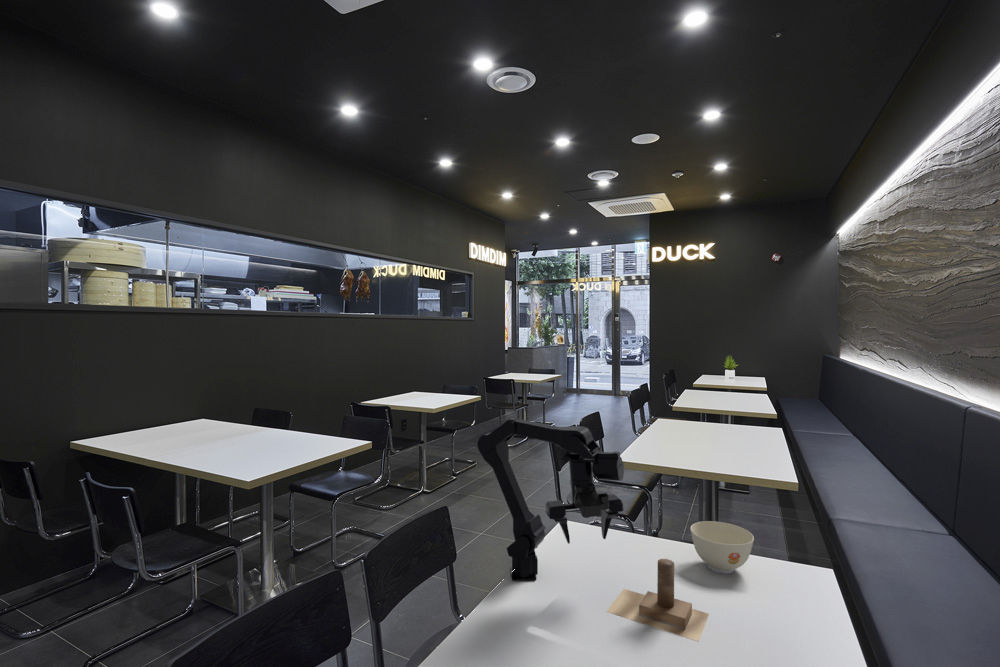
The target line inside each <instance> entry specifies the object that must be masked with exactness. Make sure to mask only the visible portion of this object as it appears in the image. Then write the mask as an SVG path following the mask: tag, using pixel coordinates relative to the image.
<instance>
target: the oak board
mask: <svg viewBox="0 0 1000 667" xmlns="http://www.w3.org/2000/svg"><path fill="white" fill-rule="evenodd" d="M645 595H646V594H643V593H639V592H637V591H633V590H629V589H626V588H623V589H622V590H621V592H620V593H619V594H618V596H616V598H615V600H614V602H612V604H611V605H610V606H609V608H608V610H606V613H609V614H612V615H615V616H618V617H621V618H625V619H627V620H628V619H629V620H631V621H634V622H637V623H640V624H644V625H646V626H649V627H653V628H656V629H659V630H660V631H661V630H662V631H665V632H667V633H670V634H674V635H678V636H680V637H683V638H685V639H689V640H693V641H695V642H700V640H701V637H702V634H703V632H704V629H705V626H706V623H707V621H708V618H709V616H710V613H708V612H705V611H702V610H698V609H694V608H692V615H691V618H690V620H689V622H688V625H687V627H686V629H685V630H684V629H680V628H677V627H674V626H671V625H667V624H664V623H661V622H658V621H655V620H651V619H648V618H645V617H642V616H639V604H640V603H641V601H642V599H643V598H644V596H645Z"/></svg>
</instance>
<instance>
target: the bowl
mask: <svg viewBox="0 0 1000 667" xmlns="http://www.w3.org/2000/svg"><path fill="white" fill-rule="evenodd" d="M690 535H691V539H692V543H693V546H694V549H695V551H696V554H697V555H698V556H699V558H700V559H701V560H702V561H703V562H704V563H705V564H707V566H708V568H709V569H710V568H711V569H712V571H713V570H714V571H713V572H715V571H716V573H718V572H719V574H723V573H724V575H725V574H726V575H727V574H732V573H734V571H735V569H736V570H737V569H738V568H741V567H742V566H744V564H746V562H747V561H748V560H749V558H750V554H751V552H752V548H753V545H754V541H755V537H754V534H753V533H751V532H750V531H749V530H748V529H745V528H743V527H741V526H739V525H735V524H732V523H728V522H723V521H716V520H714V521H711V520H704V521H703V520H702V521H698V522H695V523H693V524H692V525H691V526H690ZM711 569H710V570H711Z"/></svg>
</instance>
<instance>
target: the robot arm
mask: <svg viewBox="0 0 1000 667" xmlns="http://www.w3.org/2000/svg"><path fill="white" fill-rule="evenodd" d="M515 435H516V436H521V437H525V438H529V439H534V440H538V441H542V442H546V443H551V444H555V445H556V446H558V447H559V448H560V449H561V450H565V453H564V454H563V455H562V456H561V457H560V461H562V462H563V461H564V462H568V466H569V478H570V479H569V485H570V492H571V496H570V501H571V503H563V502H562V500H550V501H547V502H545V504H544V505H545V507H544V508H545V514H546V515H547V516H548V518H549V519H550V520H554V521H555V522H556V523H558V524H559V525H560V528H561V530H562V533H563V535H564V538H565V540H566V543H567V544H568V545H569V544H570V543H571V540H570V533H569V528H568V527H569V526H568V518H567V517H566V515H567V513H570V512H580V514H581V516H582V517H583V518H584V519H589V518H592V517H597V518H598V517H600V526H601V536H602V539H603V540H606V538H607V534H608V533H609V532H608V531H609V527H610V525H611V521H612V519H614V517H615V516H618V515H619V512H623V511H624V503H623V500H621V498H619V497H618V496H617V495H616V494H614V493H612V494H608V493H607V492H604V493H598V492H597V490H596V484H595V483H594V478H596V479H597V480H600V481H615V482H616V481H617V482H622V481H623V478H624V474H625V464H624V463H623V458H622V457H621V452H620V451H607V452H606V451H603V449H602V448H601V447H600V445H599V444H598V443H597V442H596V440H594V438H593V437H594V436H593V434H592V432H591V430H590V429H589V428H588V427H586V426H580V425H579V426H578V425H577V426H575V425H574V426H573V425H571V426H555V425H551V424H545V423H541V422H537V421H536V422H535V421H531V420H526V419H523V418H522V419H520V418H519V417H512V418H510V419H507V420H505V422H504V423H503V424H501V425H500V426H498V427H497V428H495V429H494V430H493V431H491V432H488V433H486V434H482V435H481V436H480V437H479V438H478V441H477V442H476V446H477V450H478V452H479V454H480V455H481V458H483V460H484V461H485V462H486V463H487V464H488V465H489V466H490V467H491V469H492V471H493V473H494V476H495V478H496V480H497V483H498V485H499V487H500V491H501V493H502V496H503V498H504V500H505V502H506V503H505V504H507V507H508V511H509V512H510V514H511V517H512V533H513V537H514V541H513V542H512V543H510V545H509V546H507V547H506V552H507V556H508V557H510V559H511V560H510V561H511V562H510V569H509V571H510V572H511V571H513V570H514V569H515V570H514V571H513V572H512V574H511V573H510V576H511V577H510V578H511V581H517V582H518V581H537V575H538V572H539V571H538V569H539V568H538V567H539V564H538V562H539V560H538V556H537V554H536V549H537V548H538V547H539V545H541V543H542V542H543V541H545V540H544V539H545V537H546V532H545V529H546V526H545V525H544V523H543V521H542V518H541V516H540V514H536V515H534V514H533V513H532V512H531V511H530V508H529V507H528V504H527V502H526V499H525V497H524V495H523V492H522V490H521V488H520V485H519V484H518V481H517V478H516V476H515V474H514V470H513V469H512V466H511V463H510V461H509V456H510V455H509V453H510V452H509V451H510V450H509V445H508V441H510V440H512V438H513V437H514V436H515Z"/></svg>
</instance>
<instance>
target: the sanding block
mask: <svg viewBox="0 0 1000 667" xmlns="http://www.w3.org/2000/svg"><path fill="white" fill-rule="evenodd" d="M656 585H657V593H656V592H654V591H649V590H647V592H646V593H645V594H644V595H645V596H644V598H643V599H642V601H641V603H640V604H639V616H642V617H645V618H648V619H651V620H655V621H658V622H661V623H664V624H667V625H671V626H674V627H677V628H680V629H684V630H685V629H686V627H687V625H688V622H689V620H690V618H691V615H692V609H693V603H692V602H688V601H685V600H680V599H677V598H675V562H674V561H673V560H671V559H668V558H660V559H658V560H657V584H656Z"/></svg>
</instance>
